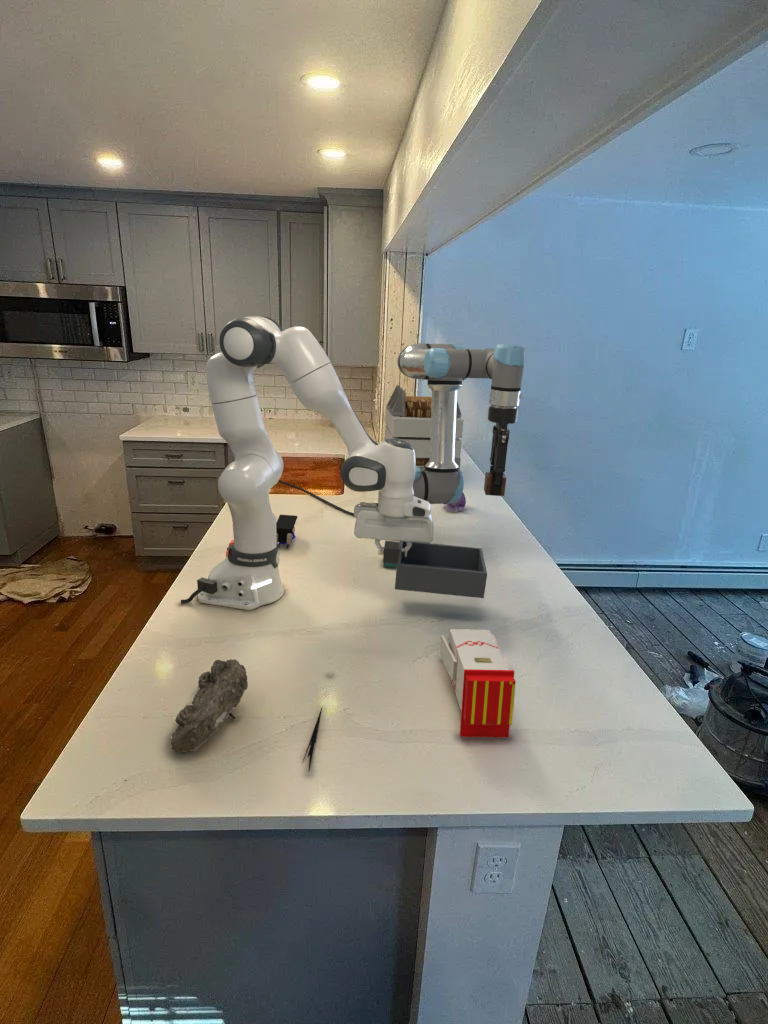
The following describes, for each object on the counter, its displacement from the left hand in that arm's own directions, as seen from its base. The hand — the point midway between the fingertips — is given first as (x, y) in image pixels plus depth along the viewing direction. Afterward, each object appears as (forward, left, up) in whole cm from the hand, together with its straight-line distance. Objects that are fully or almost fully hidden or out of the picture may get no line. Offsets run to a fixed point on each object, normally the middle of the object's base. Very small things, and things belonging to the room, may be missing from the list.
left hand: (392, 555), depth 146 cm
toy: (+17, -34, -15) cm, 41 cm away
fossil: (-33, -46, -15) cm, 58 cm away
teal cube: (0, +27, -15) cm, 31 cm away
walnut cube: (+27, +15, +14) cm, 33 cm away
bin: (+10, -1, -6) cm, 12 cm away
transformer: (+12, +132, -15) cm, 133 cm away
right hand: (+27, +15, +14) cm, 33 cm away
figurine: (+25, +82, -15) cm, 87 cm away
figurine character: (-35, +39, -15) cm, 55 cm away
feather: (-13, -45, -15) cm, 49 cm away
